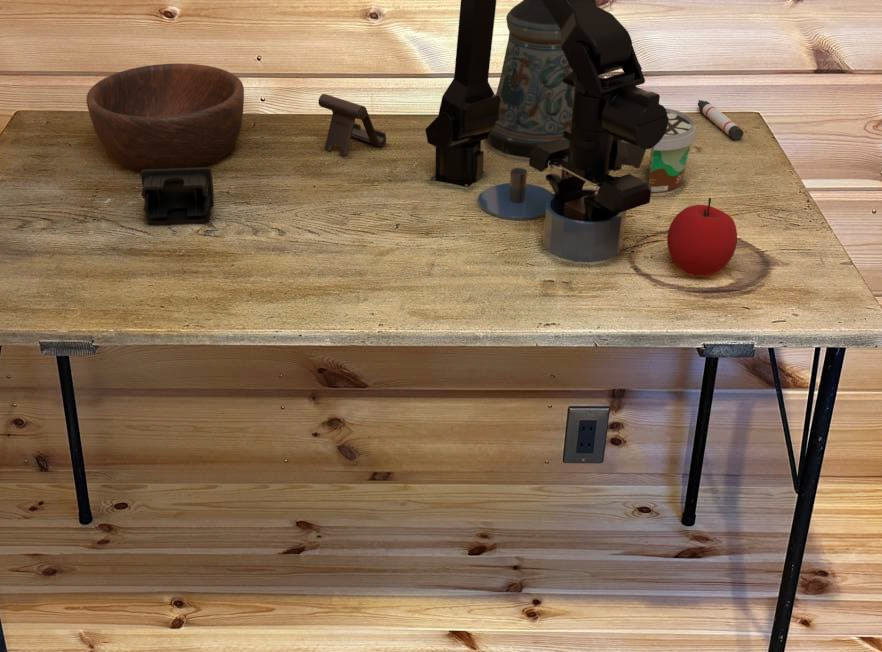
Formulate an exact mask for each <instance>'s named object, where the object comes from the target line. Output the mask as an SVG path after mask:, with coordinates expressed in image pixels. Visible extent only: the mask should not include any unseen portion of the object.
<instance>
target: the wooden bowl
mask: <svg viewBox="0 0 882 652" xmlns="http://www.w3.org/2000/svg"><path fill="white" fill-rule="evenodd" d="M85 100H86V101H85V103H86V107H87V110H88V114H89V116H90V120H91V123H92V126H93V129H94V131H95V134H96V136H97V138H98V140H99V142H100V144H101V145H102V147H103V149H104V150H105V151H106V153H107V154H108V155H109V156H110V158H112V160H114V161H115V162H116V163H118V164H120V165H121V166H123V167H125V168H128V169H130V170H134V171H138V172H141V171H142V170H145V169H171V168H197V167H208V166H209V165H211V164H214V163H216V162H218V161H220V160H222V159H224V157H226V156H227V155H228V154H229V153H230V152H231V151H232V149H233V148H234V146H235V144H236V143H237V140H238V138H239V135H240V132H241V128H242V124H243V117H244V102H245V87H244V84H243V82H242V80H240V78H239V77H238V76H236V75H235V74H233V73H231V72H230V71H228V70H225V69H222V68H218V67H215V66H211V65H204V64H196V63H161V64H160V63H159V64H152V65H150V64H149V65H145V66H144V65H143V66H139V67H134V68H130V69H125V70H123V71H119V72H116V73H113V74H111V75H109V76H106V77H104V78H102V79H101V80H99V81H98V82H96V83H95V84H94V85H93V86H92V87H91V88H90V89H89V90H88V92H87V93H86V99H85Z"/></svg>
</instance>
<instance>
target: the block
mask: <svg viewBox="0 0 882 652" xmlns="http://www.w3.org/2000/svg"><path fill="white" fill-rule="evenodd" d="M584 197H587V196H584ZM584 197H581V198H578V199H575V200H572V201H569V202H566V203H565V205H564V217H565V218H568V219H573V220H577V221H587V220H586V213H585V206H584Z"/></svg>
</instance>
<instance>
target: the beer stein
mask: <svg viewBox="0 0 882 652" xmlns="http://www.w3.org/2000/svg"><path fill="white" fill-rule="evenodd" d="M591 1H592V2H593V3H594V4H595V5H596V6H597V1H596V0H591ZM505 20H506V26H507V30H508V40H507V44H506V48H505V53H504V59H503V63H502V68H501V72H500V77H499V82H498V85H497V90H496V93H495V94H496V95H499V97H500V100H501V101H500V105H499V111H498V115H499V121H496V123H495V126H494V128H493V129H492V131H491V134H490V137H489V139H487V141H488V142H489V144H490V146H491V147H493V148H494V149H496V150H497V151H499V152H501V153H502V154H506V155H509V156H516V157H521V158H526V159H527V158H529V159H530V152H531V151H532V149H533V148H534V147H535V145H539V144H542V143H545V142H549V141H552V140H556V139H559V138H560V139H562V140H564V141H566V142H568V143H570V141H569V140H567V139H565V138H563V135H564V130H567V129H570V128H571V119H572V107H573V95H574V87H572V86H570V85H567V84H565V83H563V78H564V77H565V76H567V75H568V74H570V73H571V72H572V71H573V70H572V68H571V67H570V65H569V62H568V60H567V58H566V56H565V54H564V52H563V50H562V48H561V30H560V28H559V26H558V24H557V22H556V21H555V19H554V18H553V16H552V14H551V13H550V11H549V10H548V8H547V7H546V5H545V4H544V2H543V1H542V0H522V1H520V2H519V3H517V4H516V5H515V6H513V7H512V8H511V9H510V10H509V11H508V13H506V17H505Z"/></svg>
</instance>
